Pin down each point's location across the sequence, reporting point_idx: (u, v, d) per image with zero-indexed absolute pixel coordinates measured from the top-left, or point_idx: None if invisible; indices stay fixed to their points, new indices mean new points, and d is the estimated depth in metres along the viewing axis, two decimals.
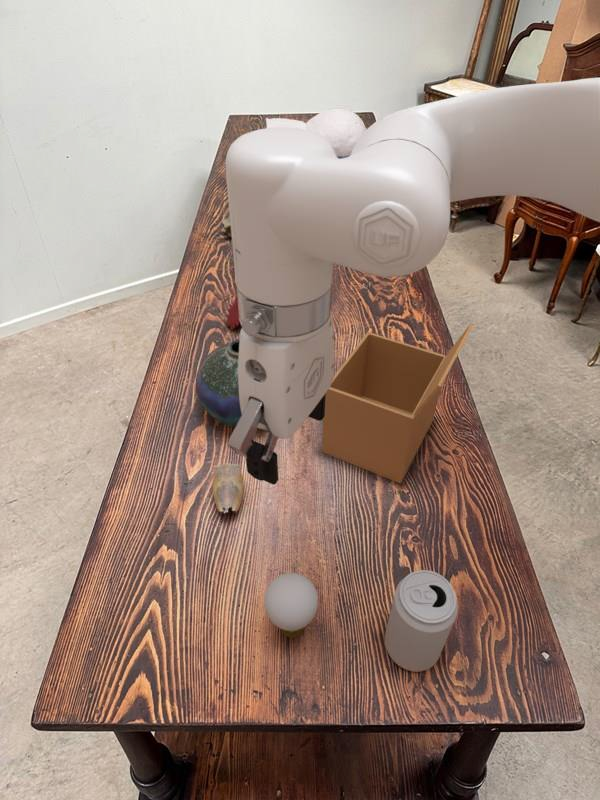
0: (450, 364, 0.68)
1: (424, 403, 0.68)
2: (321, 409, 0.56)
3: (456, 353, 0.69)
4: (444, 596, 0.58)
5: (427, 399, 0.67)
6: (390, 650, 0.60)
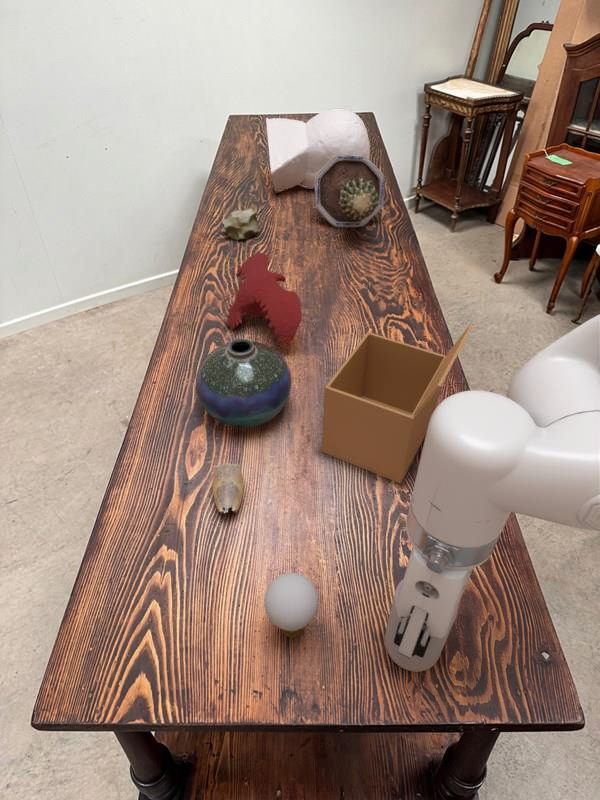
0: (450, 364, 0.68)
1: (424, 403, 0.68)
2: None
3: (456, 353, 0.69)
4: None
5: (427, 399, 0.67)
6: (390, 650, 0.60)
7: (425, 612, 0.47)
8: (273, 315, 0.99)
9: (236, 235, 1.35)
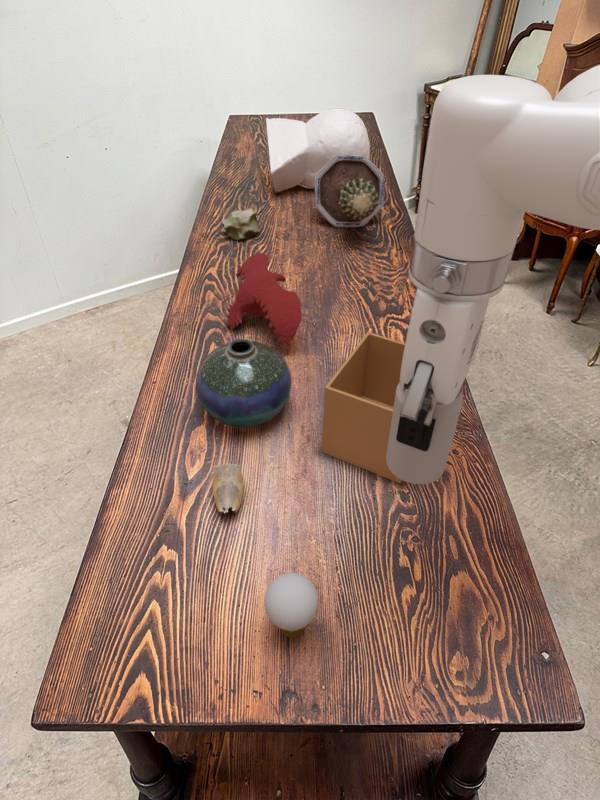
0: None
1: None
2: None
3: None
4: None
5: None
6: (392, 463, 0.57)
7: (430, 368, 0.44)
8: (273, 315, 0.99)
9: (236, 235, 1.35)
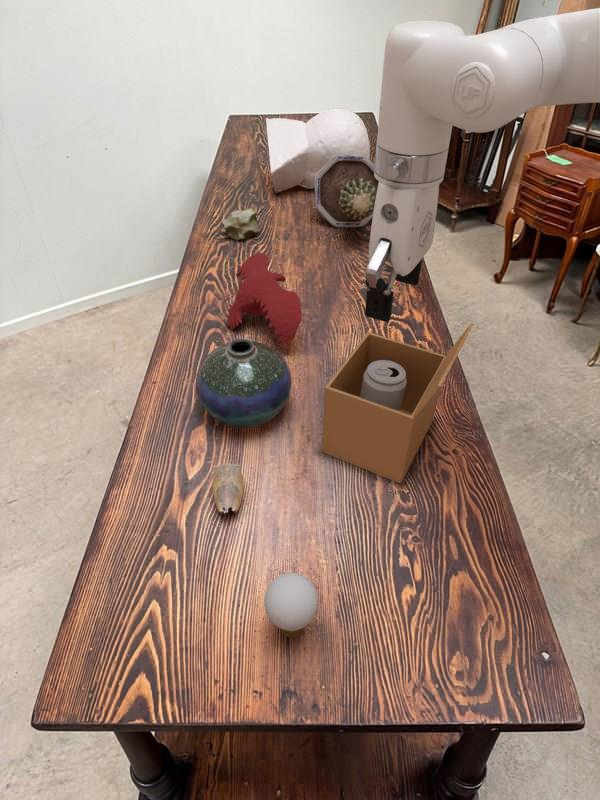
0: (450, 364, 0.68)
1: (424, 403, 0.68)
2: (417, 274, 0.71)
3: (456, 353, 0.69)
4: None
5: (427, 399, 0.67)
6: None
7: None
8: (273, 315, 0.99)
9: (236, 235, 1.35)
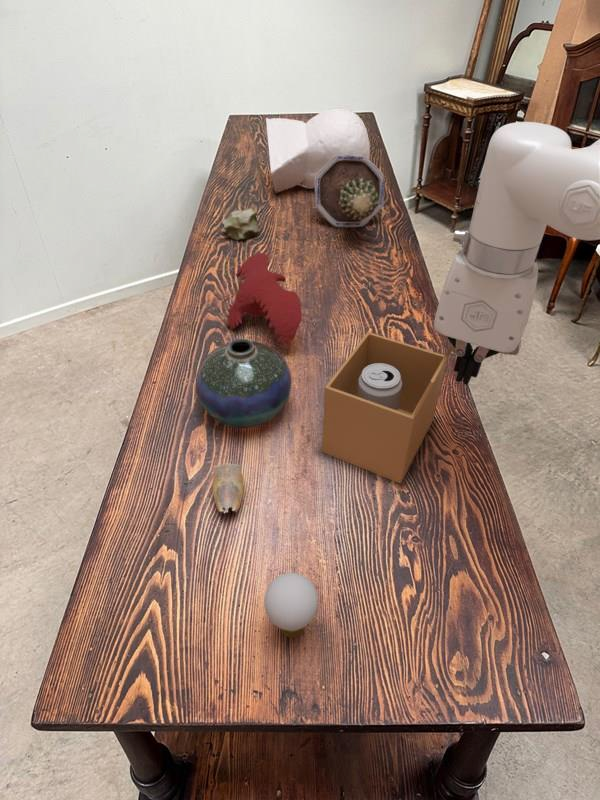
0: (443, 360, 0.68)
1: (421, 401, 0.68)
2: (466, 374, 0.69)
3: (449, 349, 0.70)
4: None
5: (423, 397, 0.67)
6: None
7: None
8: (273, 315, 0.99)
9: (236, 235, 1.35)
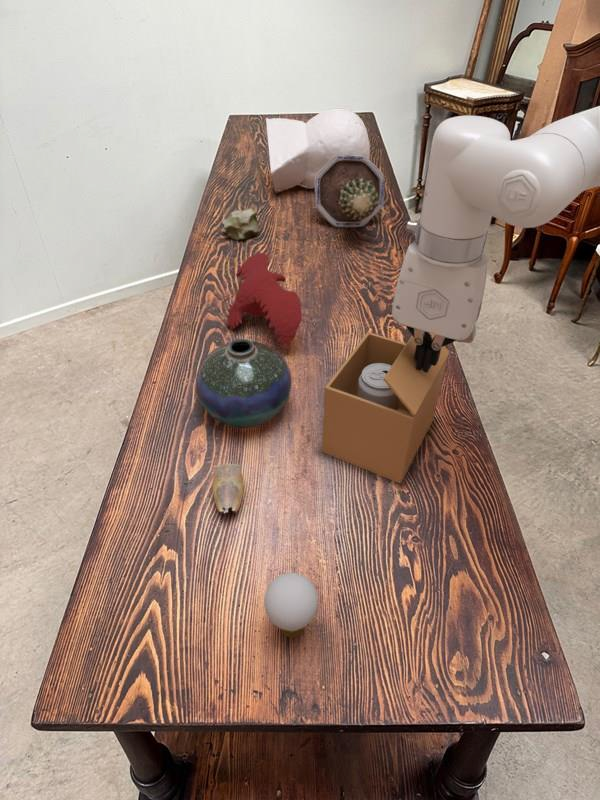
0: None
1: (401, 400, 0.69)
2: (425, 362, 0.71)
3: (403, 348, 0.73)
4: None
5: (397, 395, 0.69)
6: None
7: None
8: (273, 315, 0.99)
9: (236, 235, 1.35)
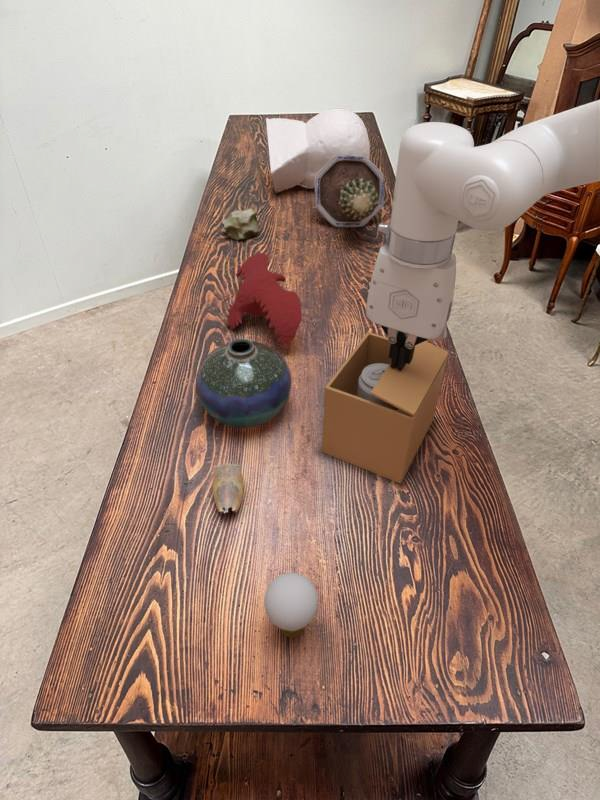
0: (383, 373, 0.74)
1: (395, 405, 0.70)
2: (399, 360, 0.73)
3: None
4: None
5: (389, 403, 0.70)
6: None
7: None
8: (273, 315, 0.99)
9: (236, 235, 1.35)
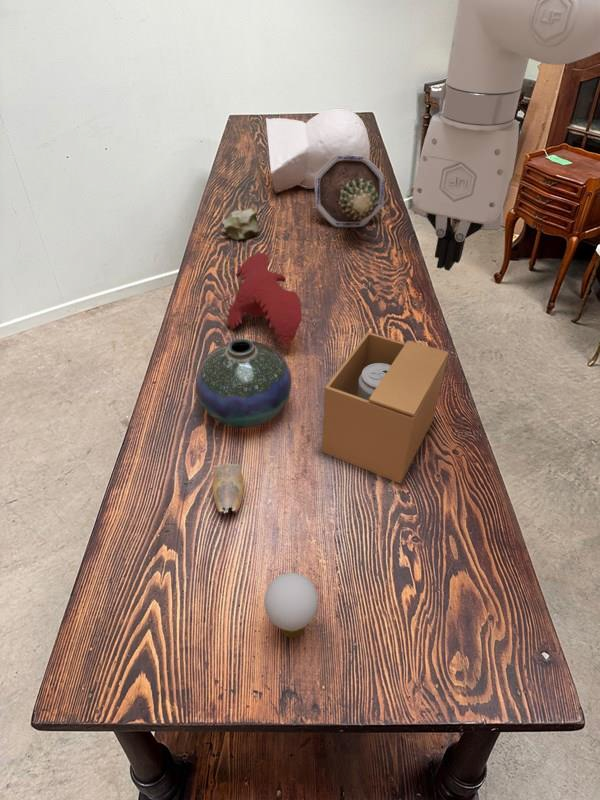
0: (381, 380, 0.75)
1: (394, 408, 0.71)
2: (447, 257, 0.66)
3: None
4: None
5: (388, 407, 0.71)
6: None
7: None
8: (273, 315, 0.99)
9: (236, 235, 1.35)
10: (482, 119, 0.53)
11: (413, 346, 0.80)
